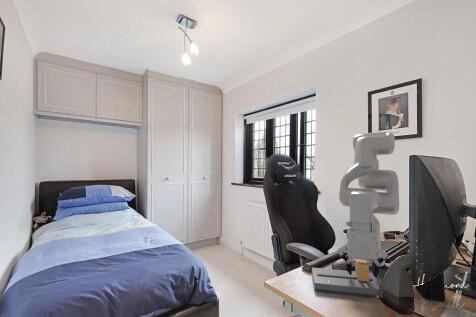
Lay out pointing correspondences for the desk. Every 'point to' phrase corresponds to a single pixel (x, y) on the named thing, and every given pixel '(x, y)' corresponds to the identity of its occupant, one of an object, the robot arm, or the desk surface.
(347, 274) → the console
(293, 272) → the desk surface
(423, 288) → the portable radio
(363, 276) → the fader tab
